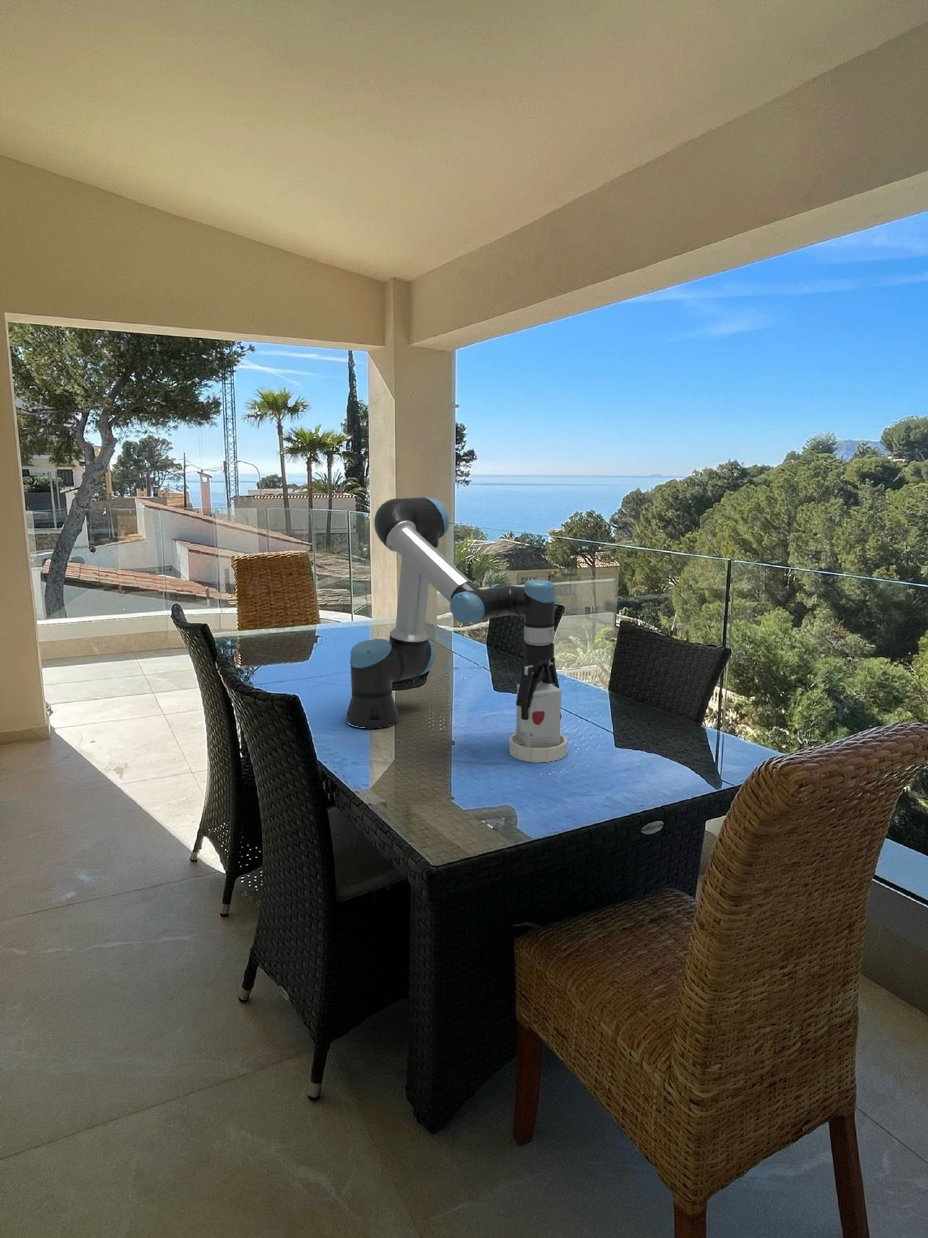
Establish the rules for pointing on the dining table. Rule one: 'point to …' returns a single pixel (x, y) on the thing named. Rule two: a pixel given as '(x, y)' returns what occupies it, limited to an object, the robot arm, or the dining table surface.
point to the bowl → (537, 751)
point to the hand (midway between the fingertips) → (538, 724)
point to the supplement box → (542, 718)
